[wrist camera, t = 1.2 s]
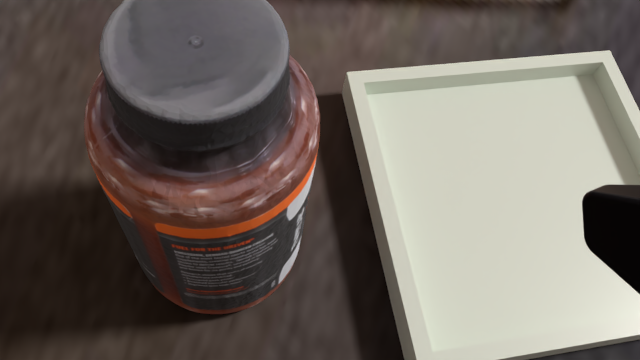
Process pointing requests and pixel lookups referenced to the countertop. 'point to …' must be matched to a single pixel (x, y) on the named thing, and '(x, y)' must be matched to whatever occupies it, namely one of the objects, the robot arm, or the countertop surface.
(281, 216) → the supplement bottle
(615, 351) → the countertop surface
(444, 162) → the tray
